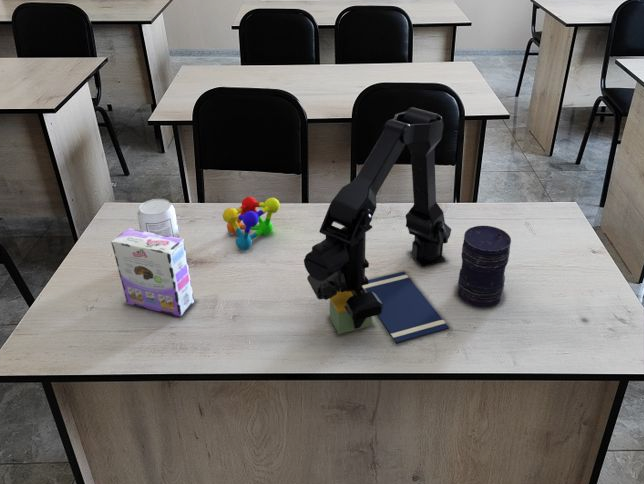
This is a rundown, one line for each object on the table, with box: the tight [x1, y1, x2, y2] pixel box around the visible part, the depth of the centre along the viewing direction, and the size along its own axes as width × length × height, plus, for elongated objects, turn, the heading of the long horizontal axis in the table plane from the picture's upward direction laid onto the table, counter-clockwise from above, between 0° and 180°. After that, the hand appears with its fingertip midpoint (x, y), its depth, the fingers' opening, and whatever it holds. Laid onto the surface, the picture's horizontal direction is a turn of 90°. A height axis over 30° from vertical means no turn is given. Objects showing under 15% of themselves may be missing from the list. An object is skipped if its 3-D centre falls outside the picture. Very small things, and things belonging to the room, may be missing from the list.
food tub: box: [329, 286, 373, 335], centre depth 124 cm, size 8×6×6 cm
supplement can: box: [137, 198, 181, 239], centre depth 141 cm, size 8×8×15 cm
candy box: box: [110, 228, 195, 317], centre depth 127 cm, size 14×6×16 cm, turn 71°
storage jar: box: [457, 225, 512, 309], centre depth 130 cm, size 10×10×15 cm
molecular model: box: [222, 196, 281, 251], centre depth 148 cm, size 15×12×15 cm
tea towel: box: [363, 271, 450, 344], centre depth 130 cm, size 12×21×1 cm, turn 22°
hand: (350, 317), depth 125 cm, fingers open, 7 cm apart
